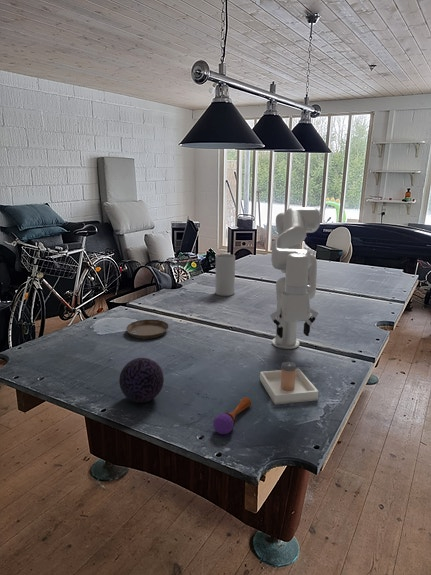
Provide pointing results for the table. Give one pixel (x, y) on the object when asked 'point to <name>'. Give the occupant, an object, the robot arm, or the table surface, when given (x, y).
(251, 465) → the table surface
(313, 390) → the tray
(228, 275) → the cylinder vase
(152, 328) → the plant saucer
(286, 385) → the cylinder
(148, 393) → the toy ball
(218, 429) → the brown purple handled piece
